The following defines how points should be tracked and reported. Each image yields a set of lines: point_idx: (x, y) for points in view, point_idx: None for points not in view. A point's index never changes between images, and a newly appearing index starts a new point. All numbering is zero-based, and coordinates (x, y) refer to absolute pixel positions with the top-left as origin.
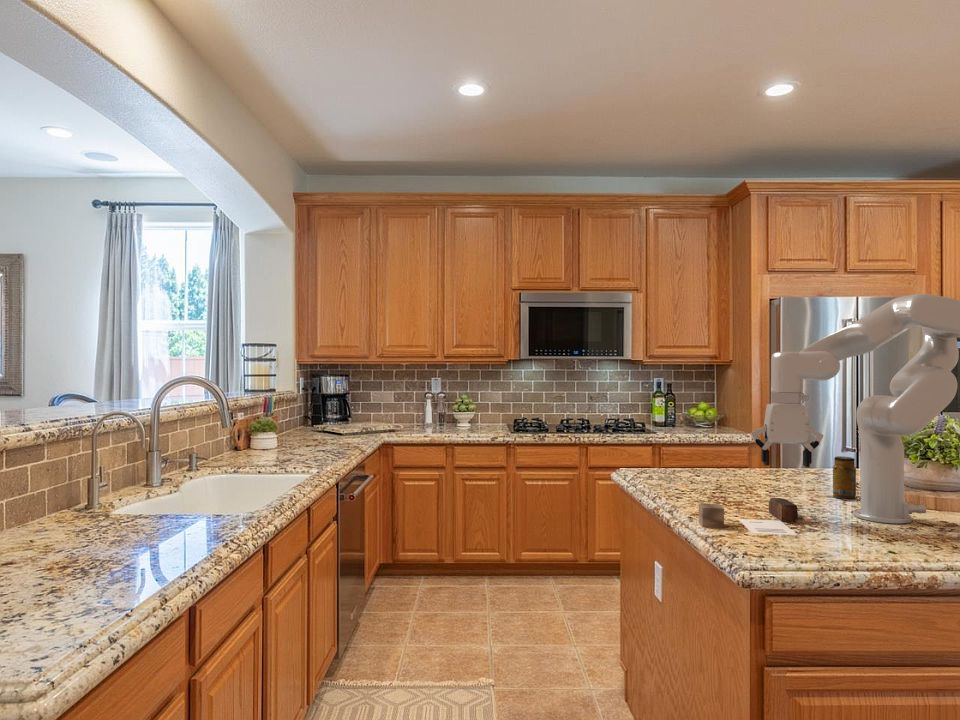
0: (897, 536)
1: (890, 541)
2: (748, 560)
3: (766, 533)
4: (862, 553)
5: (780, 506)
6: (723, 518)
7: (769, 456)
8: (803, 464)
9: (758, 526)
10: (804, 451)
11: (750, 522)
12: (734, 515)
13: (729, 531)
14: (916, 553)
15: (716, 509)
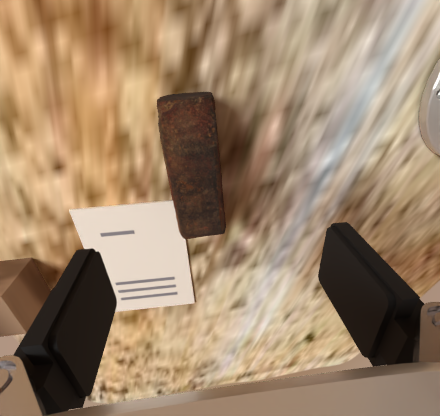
0: (383, 259)
1: None
2: None
3: (137, 308)
4: (264, 351)
5: (178, 227)
6: (38, 312)
7: (102, 354)
8: (328, 240)
9: (122, 267)
10: (378, 326)
11: (104, 238)
12: (52, 158)
13: None
14: (341, 334)
15: (9, 332)
